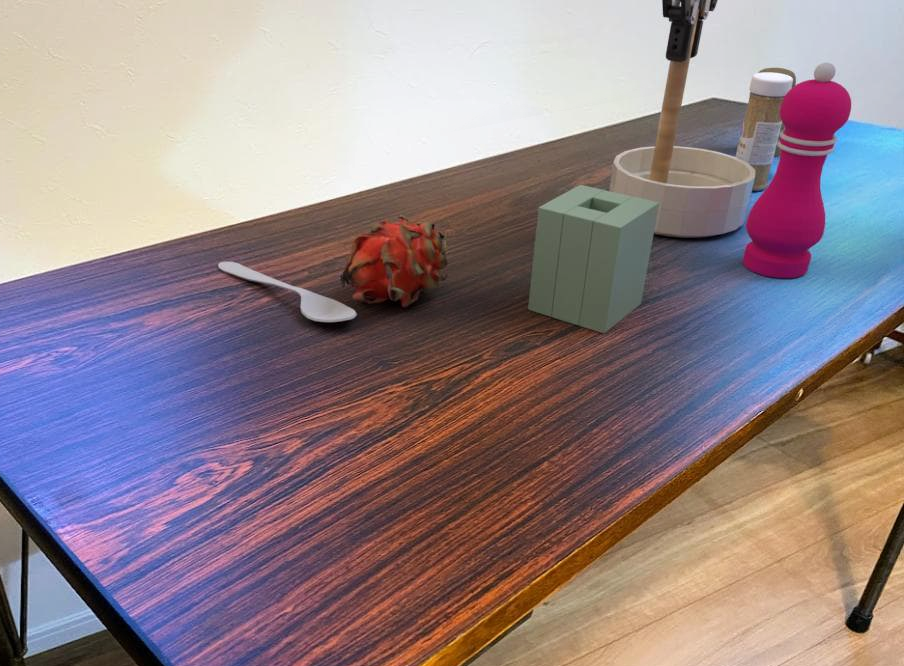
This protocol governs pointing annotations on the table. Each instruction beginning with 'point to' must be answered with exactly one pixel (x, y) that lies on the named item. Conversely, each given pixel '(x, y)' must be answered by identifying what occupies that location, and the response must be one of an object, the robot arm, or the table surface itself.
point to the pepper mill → (797, 179)
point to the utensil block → (591, 256)
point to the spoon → (310, 302)
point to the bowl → (688, 190)
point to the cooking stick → (670, 116)
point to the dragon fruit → (396, 262)
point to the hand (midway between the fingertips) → (681, 57)
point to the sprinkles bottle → (762, 123)
